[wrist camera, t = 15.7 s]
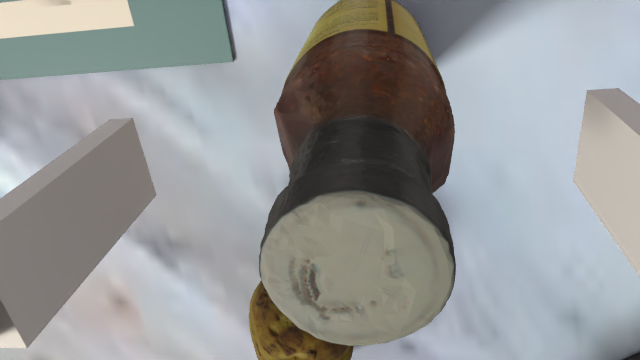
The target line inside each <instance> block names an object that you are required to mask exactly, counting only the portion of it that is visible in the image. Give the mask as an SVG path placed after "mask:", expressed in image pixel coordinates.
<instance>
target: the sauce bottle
mask: <svg viewBox="0 0 640 360" xmlns="http://www.w3.org/2000/svg"><path fill="white" fill-rule="evenodd" d="M274 115H275V119H276V123H277V128H278V133H279V138H280V142H281V146H282V150H283V154H284V156H285V159H286V161H287V163H288V166H289V170H290V175H289V177H290V181H289V185H288V186H287V187H286V188H285V189H284V190H283V191H282V192H281V193H280V194H279V195H278V196H277V198H276V200H275V202H274V204H273V206H272V209H271V211H270V213H269V216H268V222H267V224H266V228H265V234H264V237H263V240H262V242H261V252H260V256H259V271H260V277H261V280H262V283H263V286H264V287H265V289H266V291H267V292H268V294H269V296H270V298H271V300H272V301H273V302H274V304H275V305H276V306H277V308H278V309H279V310H280V311H281V312H282V313H283V314H284V315H285V316H286V317H287V318H289V319H290V320H291V321H292V322H293V323H294V324H295V325H296V326H297V327H298V328H300V329H302V330H304V331H306V332H308V333H310V334H311V335H313V336H314V337H316V338H318V339H321V340H324V341H328V342H331V343H336V344H342V345H348V346H359V345H371V344H380V343H387V342H390V341H393V340H396V339H399V338H401V337H404V336H407V335H409V334H412V333H413V332H415V331H417V330H419V329H420V328H422V327H424V326H426V325H427V324H429V323H430V322H431V321H432V320H433V318H434V317H435V316H436V315H437V314H439V313H440V312H441V311H442V309H443V308H444V306H445V305H446V302H447V300H448V299H449V297H450V295H451V292H452V290H453V287H454V281H455V271H456V264H455V256H454V247H453V241H452V238H451V234H450V229H449V224H448V221H447V218H446V216H445V214H444V212H443V210H442V208H441V206H440V204H439V202H438V201H437V199H436V198H435V197H434V196H433V195H432V193H433V192H435V191H436V190H437V189H438V188H439V187H440V186H442V185H443V184H445V181H446V178H447V176H448V174H449V169H450V163H451V156H452V150H453V144H454V134H455V128H454V118H453V115H452V109H451V106H450V102H449V100H448V97H447V95H446V90H445V86H444V82H443V80H442V77H441V74H440V72H439V70H438V68H437V66H436V64H435V61H434V59H433V57H432V55H431V53H430V50H429V48H428V46H427V43H426V41H425V39H424V37H423V34H422V32H421V30H420V28H419V26H418V24H417V22H416V21H415V19H414V18H413V17H412V15H411V14H410V13H409V12H408V11H407V10H406V9H405V8H404V7H402V6H401V5H400V4H398V3H396V2H395V1H391V0H341V1H339V2H338V3H337V4H335V5H333V6H332V7H331V8H330V9H329V10H327V11H326V12H325V13H324V14H323V15H322V16H321V18H320V19H319V20H318V21H317V23H316V24H315V26H314V28H313V30H312V32H311V34H310V36H309V37H308V39H307V41H306V43H305V44H304V46H303V48H302V50H301V52H300V53H299V55H298V57H297V59H296V61H295V63H294V65H293V67H292V69H291V71H290V73H289V75H288V77H287V79H286V82H285V85H284V88H283V91H282V94H281V97H280V99H279V102H278V103H277V105H276V108H275V109H274Z"/></svg>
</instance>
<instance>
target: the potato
mask: <svg viewBox="0 0 640 360" xmlns="http://www.w3.org/2000/svg"><path fill="white" fill-rule="evenodd" d="M249 323H250V332H251V336H252V341H253V344H254V348H255V351H256V354H257V357H258V360H350V359H351V357H352V352H353V346H348V345H342V344H336V343H331V342H328V341H324V340H321V339H318V338H316V337H314V336H313V335H311V334H310V333H308V332H306V331H304V330H302V329H300V328H298V327H297V326H296V325H295V324H294V323H293V322H292V321H291V320H290V319H289V318H287V317H286V316H285V315H284V314H283V313H282V312H281V311H280V310H279V309H278V308H277V306H276V305H275V304H274V302H273V301H272V300H271V298H270V296H269V294H268V292H267V291H266V289H265V287H264V286H263V283H262V280H261V282H260V283H259V285H258V286H257V288H256V289H255V291H254V293H253V296H252V298H251V302H250V313H249Z"/></svg>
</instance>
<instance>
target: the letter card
mask: <svg viewBox="0 0 640 360" xmlns="http://www.w3.org/2000/svg"><path fill="white" fill-rule="evenodd" d="M233 61H234V59H233V53H232V48H231V43H230V37H229V32H228V27H227V21H226V16H225V11H224V5H223V0H0V80H6V79H18V78H31V77H44V76H57V75H69V74H82V73H95V72H108V71H121V70H133V69H146V68H159V67H172V66H184V65H197V64H210V63H223V62H233Z"/></svg>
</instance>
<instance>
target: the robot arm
mask: <svg viewBox="0 0 640 360" xmlns="http://www.w3.org/2000/svg"><path fill="white" fill-rule="evenodd" d="M573 182H574V183H575V185H576V186H577V187H578V189H579V190H580V192H581V193H582V195H583V196H584V197H585V199H586V200H587V202H588V203H589V205H590V206H591V207H592V209H593V210H594V212H595V213H596V215H597V216H598V217H599V219H600V220H601V222H602V223H603V225H604V226H605V227H606V229H607V230H608V232H609V233H610V235H611V236H612V238H613V239H614V240H615V242H616V243H617V245H618V246H619V248H620V249H621V250H622V252H623V253H624V255H625V256H626V258H627V259H628V260H629V262H630V263H631V265H632V266H633V268H634V269H635V270H636V272H637V273H638V275H639V276H640V104H639V103H637V102H636V101H635V100H633V99H632V98H631V97H629V96H628V95H627V94H625V93H624V92H623V91H621V90H620V89H619V88H615V89H599V90H587V95H586V101H585V108H584V114H583V120H582V127H581V133H580V140H579V146H578V153H577V159H576V166H575V172H574V179H573ZM155 196H156V192H155V189H154V186H153V183H152V179H151V176H150V173H149V170H148V166H147V163H146V160H145V157H144V153H143V150H142V147H141V144H140V140H139V137H138V134H137V131H136V127H135V124H134V121H133V118H128V119H112V120H109V121H108V122H106V123H105V124H103V125H102V126H101V127H99V128H98V129H96V130H95V131H94V132H92V133H91V134H89V135H88V136H87V137H85V138H84V139H83V140H81V141H80V142H78V143H77V144H76V145H74V146H73V147H71V148H70V149H69V150H67V151H66V152H65V153H63V154H62V155H60V156H59V157H58V158H56V159H55V160H53V161H52V162H51V163H49V164H48V165H47V166H45V167H44V168H42V169H41V170H40V171H38V172H37V173H35V174H34V175H33V176H31V177H30V178H28V179H27V180H26V181H24V182H23V183H22V184H20V185H19V186H17V187H16V188H15V189H13V190H12V191H10V192H9V193H8V194H6V195H5V196H4V197H2V198H1V199H0V348H28V347H29V345H30V344H31V343H32V342H33V341H34V340H35V338H36V337H37V336H38V335H39V334H40V332H41V331H42V330H43V329H44V328H45V326H46V325H47V324H48V323H49V322H50V321H51V319H52V318H53V317H54V316H55V315H56V313H57V312H58V311H59V310H60V309H61V307H62V306H63V305H64V304H65V303H66V302H67V300H68V299H69V298H70V297H71V296H72V294H73V293H74V292H75V291H76V290H77V289H78V287H79V286H80V285H81V284H82V283H83V281H84V280H85V279H86V278H87V277H88V275H89V274H90V273H91V272H92V271H93V270H94V268H95V267H96V266H97V265H98V264H99V262H100V261H101V260H102V259H103V258H104V256H105V255H106V254H107V253H108V252H109V251H110V249H111V248H112V247H113V246H114V245H115V243H116V242H117V241H118V240H119V239H120V237H121V236H122V235H123V234H124V233H125V232H126V230H127V229H128V228H129V227H130V226H131V224H132V223H133V222H134V221H135V220H136V218H137V217H138V216H139V215H140V214H141V213H142V211H143V210H144V209H145V208H146V207H147V205H148V204H149V203H150V202H151V201H152V199H153V198H154V197H155ZM627 360H640V354H638V355H636V356H633V357H631V358H629V359H627Z"/></svg>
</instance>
